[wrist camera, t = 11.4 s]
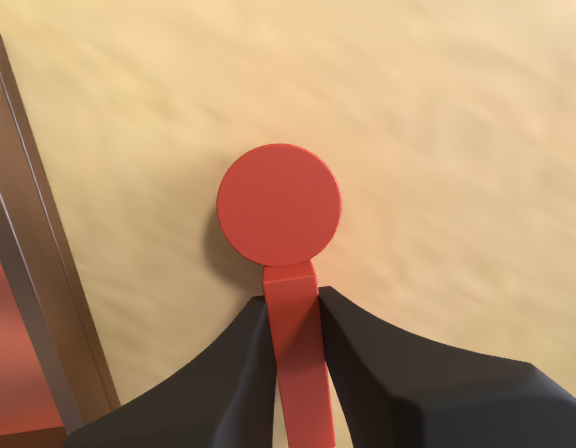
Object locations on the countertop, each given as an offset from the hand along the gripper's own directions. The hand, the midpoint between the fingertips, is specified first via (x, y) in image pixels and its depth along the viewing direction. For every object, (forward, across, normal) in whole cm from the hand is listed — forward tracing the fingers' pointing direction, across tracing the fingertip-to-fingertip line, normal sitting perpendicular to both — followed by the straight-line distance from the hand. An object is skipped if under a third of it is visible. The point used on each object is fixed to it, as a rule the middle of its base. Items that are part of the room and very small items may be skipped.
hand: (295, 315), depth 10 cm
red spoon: (+2, 0, -1) cm, 2 cm away
